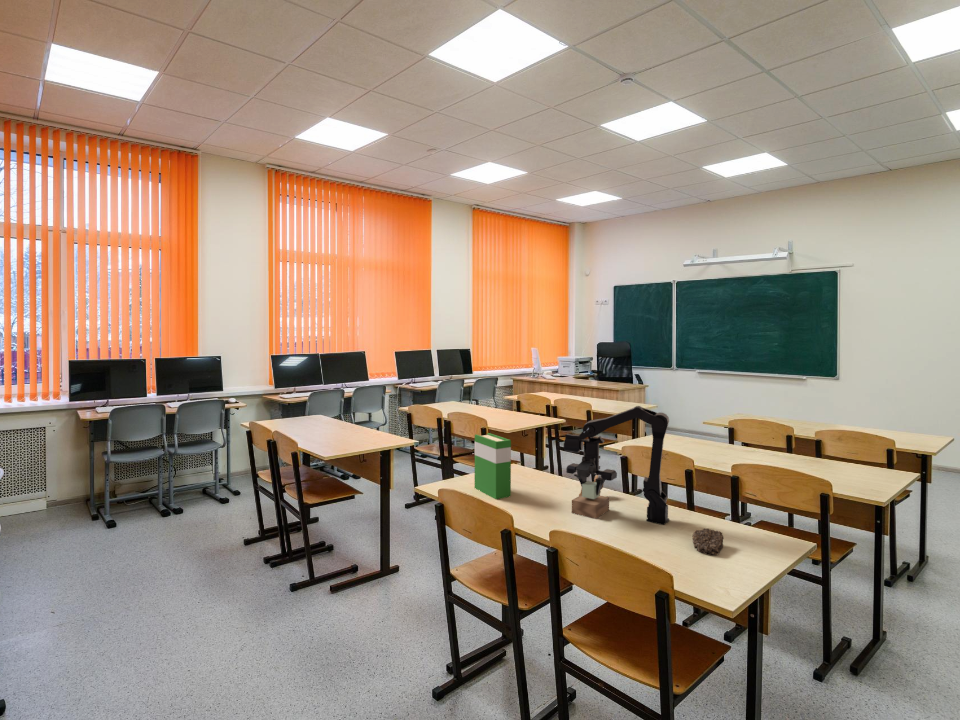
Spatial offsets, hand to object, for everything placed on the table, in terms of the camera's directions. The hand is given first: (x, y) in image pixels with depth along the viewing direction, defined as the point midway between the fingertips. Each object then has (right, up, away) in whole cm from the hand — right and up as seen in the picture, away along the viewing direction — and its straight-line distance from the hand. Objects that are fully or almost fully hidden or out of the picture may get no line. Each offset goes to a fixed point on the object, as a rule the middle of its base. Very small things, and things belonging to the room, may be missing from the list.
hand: (590, 493), depth 201 cm
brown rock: (+30, -9, -33) cm, 46 cm away
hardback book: (-37, -6, +24) cm, 45 cm away
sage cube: (0, -1, 0) cm, 1 cm away
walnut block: (0, -7, 0) cm, 7 cm away
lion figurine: (+4, -6, +17) cm, 18 cm away
